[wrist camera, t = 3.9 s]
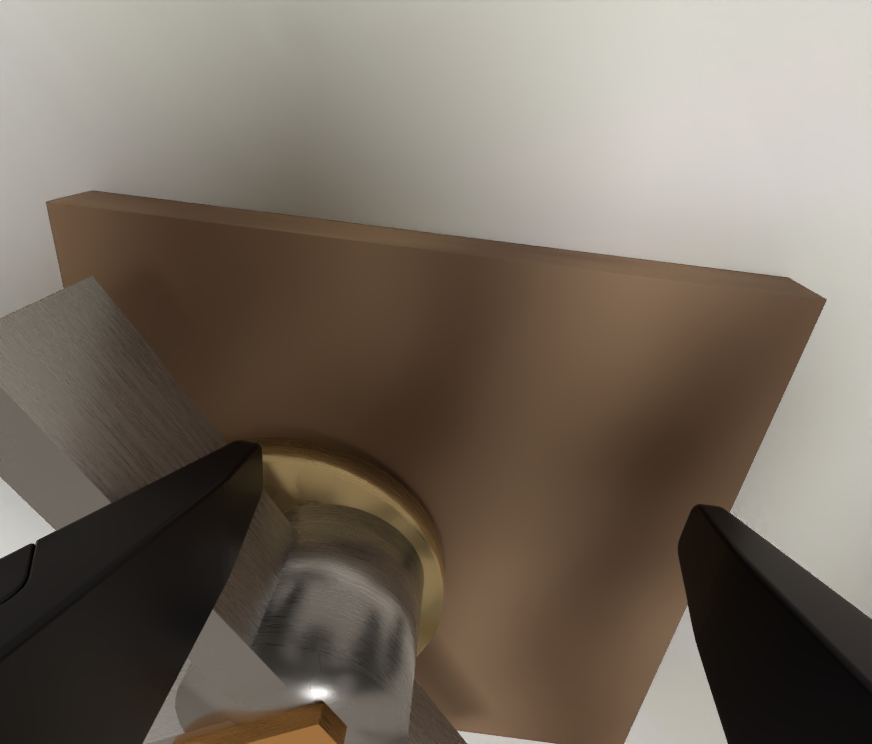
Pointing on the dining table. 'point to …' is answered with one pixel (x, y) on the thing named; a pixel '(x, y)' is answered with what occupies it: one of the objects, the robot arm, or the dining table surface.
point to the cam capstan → (262, 548)
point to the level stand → (478, 417)
